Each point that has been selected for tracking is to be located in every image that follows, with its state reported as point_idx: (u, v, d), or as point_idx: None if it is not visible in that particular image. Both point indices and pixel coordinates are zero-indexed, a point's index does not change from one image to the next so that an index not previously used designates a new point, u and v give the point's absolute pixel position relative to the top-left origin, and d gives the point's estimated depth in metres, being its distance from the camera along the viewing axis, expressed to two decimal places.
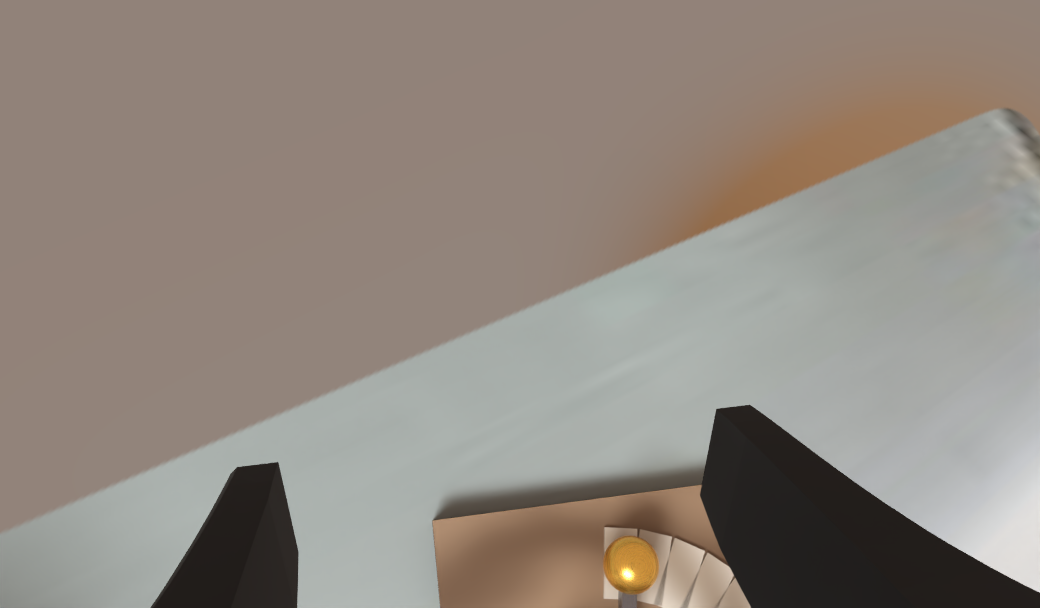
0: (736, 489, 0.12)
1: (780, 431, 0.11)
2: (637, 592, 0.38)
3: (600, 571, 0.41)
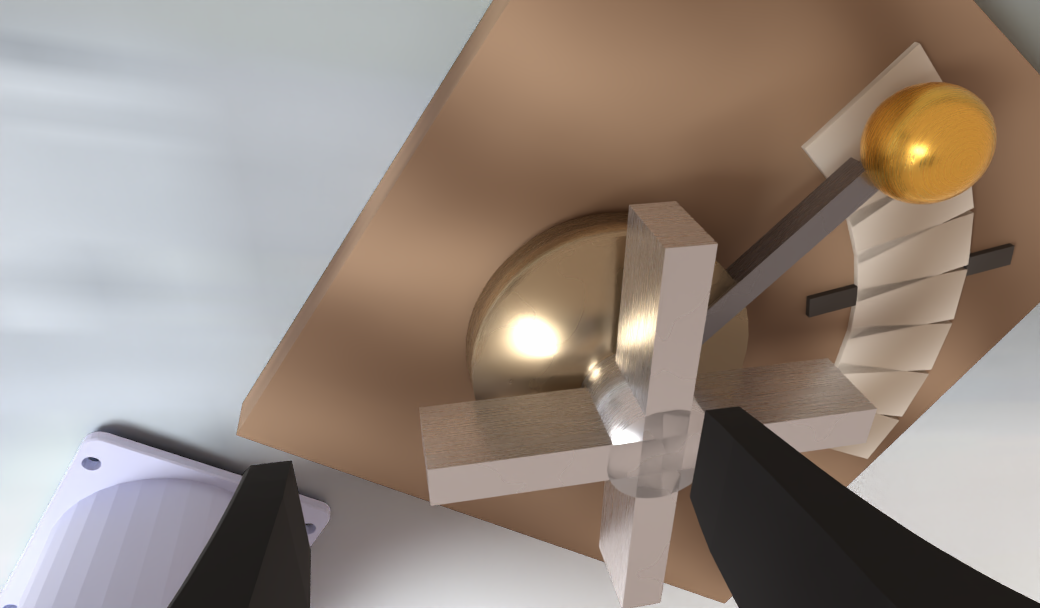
0: (725, 490, 0.12)
1: (768, 433, 0.11)
2: (900, 195, 0.18)
3: (837, 104, 0.20)
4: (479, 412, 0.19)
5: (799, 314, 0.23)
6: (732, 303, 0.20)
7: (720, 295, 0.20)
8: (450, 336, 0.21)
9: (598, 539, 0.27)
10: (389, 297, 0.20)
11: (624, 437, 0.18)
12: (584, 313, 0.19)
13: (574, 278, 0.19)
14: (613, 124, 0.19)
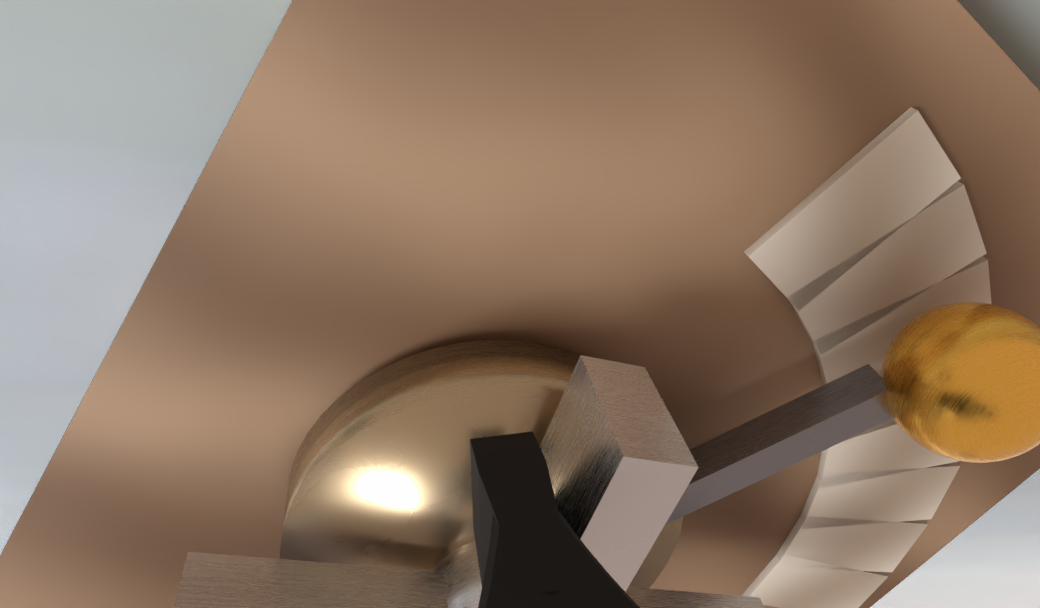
0: (481, 525, 0.11)
1: (517, 464, 0.11)
2: (925, 440, 0.13)
3: (796, 194, 0.14)
4: (276, 583, 0.13)
5: None
6: None
7: None
8: (251, 502, 0.15)
9: None
10: (151, 458, 0.14)
11: None
12: None
13: (472, 428, 0.13)
14: (457, 226, 0.13)
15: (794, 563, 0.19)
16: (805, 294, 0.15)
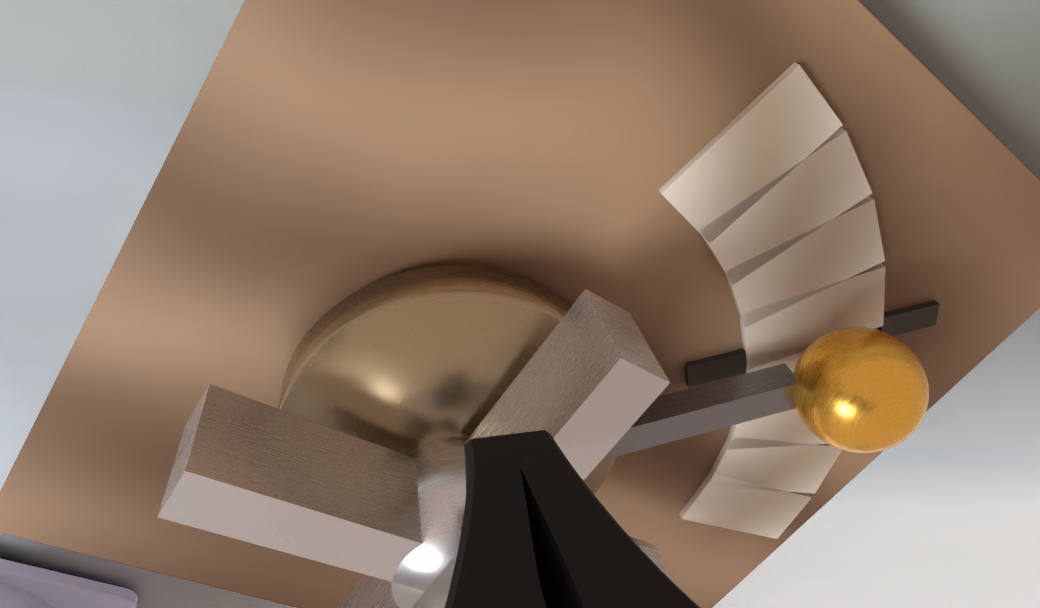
0: None
1: (558, 460, 0.11)
2: (818, 425, 0.17)
3: (700, 139, 0.16)
4: (282, 427, 0.15)
5: (678, 383, 0.19)
6: None
7: None
8: None
9: None
10: (147, 371, 0.16)
11: (440, 541, 0.14)
12: (463, 376, 0.16)
13: (478, 333, 0.15)
14: (407, 164, 0.15)
15: (724, 482, 0.22)
16: (714, 228, 0.17)
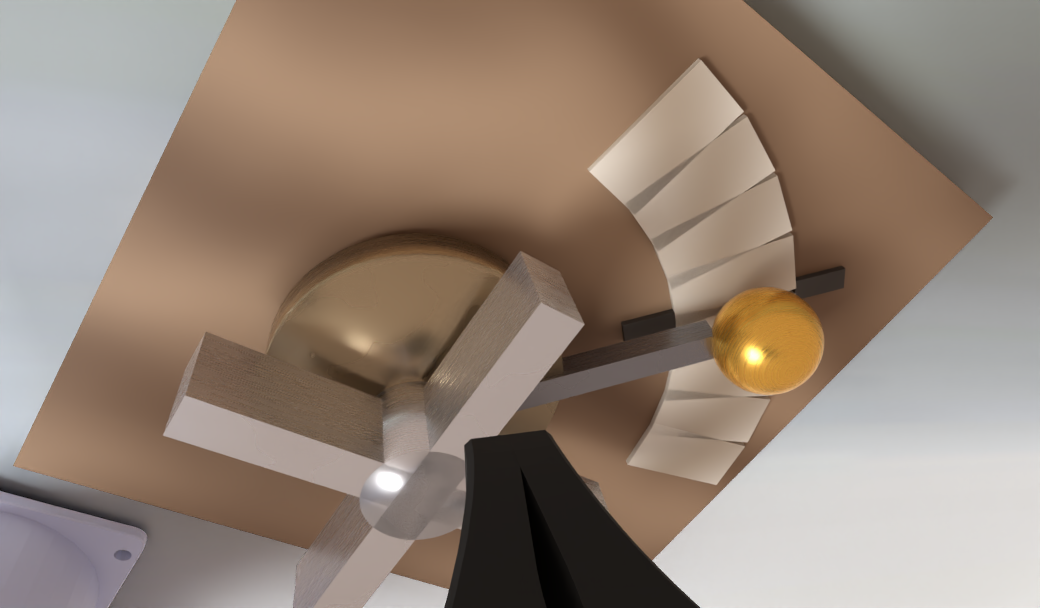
0: None
1: (558, 460, 0.11)
2: (729, 371, 0.20)
3: (621, 124, 0.19)
4: (266, 368, 0.17)
5: (616, 340, 0.22)
6: (551, 390, 0.20)
7: (545, 378, 0.20)
8: None
9: (434, 565, 0.26)
10: (153, 327, 0.19)
11: (399, 461, 0.17)
12: (421, 327, 0.19)
13: (432, 289, 0.18)
14: (370, 147, 0.18)
15: (664, 431, 0.24)
16: (637, 202, 0.20)
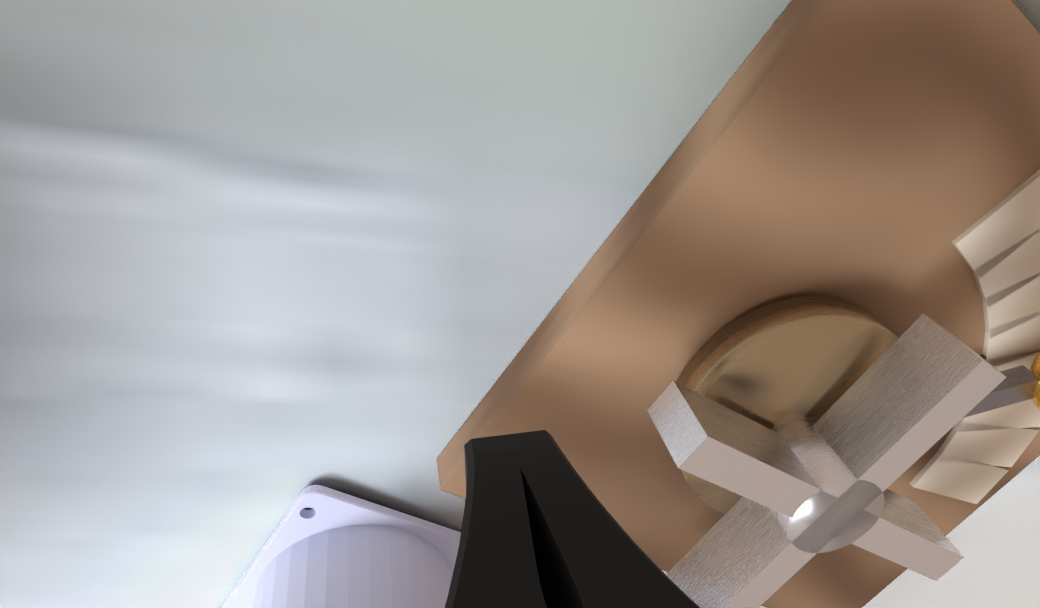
0: None
1: (558, 460, 0.11)
2: None
3: (987, 206, 0.22)
4: (719, 410, 0.21)
5: None
6: None
7: None
8: (632, 404, 0.24)
9: None
10: (587, 373, 0.23)
11: (832, 488, 0.21)
12: (823, 374, 0.22)
13: (842, 344, 0.22)
14: (796, 227, 0.21)
15: (949, 458, 0.28)
16: (985, 268, 0.23)
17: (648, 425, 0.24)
